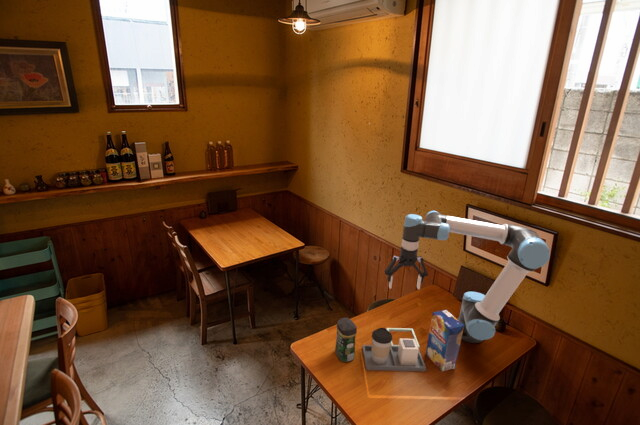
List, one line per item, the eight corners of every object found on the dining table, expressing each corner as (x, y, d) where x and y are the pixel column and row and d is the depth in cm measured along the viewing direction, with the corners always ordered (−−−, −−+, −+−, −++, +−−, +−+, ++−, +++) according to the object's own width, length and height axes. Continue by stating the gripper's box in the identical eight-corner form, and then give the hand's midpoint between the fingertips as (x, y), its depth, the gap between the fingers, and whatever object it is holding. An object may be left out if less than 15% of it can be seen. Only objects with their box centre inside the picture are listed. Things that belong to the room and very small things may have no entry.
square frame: (412, 330, 183) (412, 328, 183) (419, 349, 170) (419, 346, 170) (386, 330, 183) (386, 327, 182) (391, 348, 170) (391, 346, 170)
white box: (412, 354, 166) (414, 338, 162) (416, 365, 159) (418, 348, 156) (397, 354, 165) (399, 337, 162) (400, 365, 159) (403, 348, 156)
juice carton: (455, 369, 159) (464, 325, 151) (441, 373, 156) (450, 328, 148) (438, 351, 169) (446, 309, 161) (425, 355, 167) (432, 312, 159)
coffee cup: (389, 368, 157) (392, 340, 152) (368, 364, 158) (371, 337, 153) (389, 354, 165) (392, 327, 160) (370, 350, 167) (373, 324, 162)
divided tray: (416, 351, 169) (417, 346, 168) (425, 373, 156) (426, 367, 155) (362, 350, 168) (362, 344, 167) (366, 371, 156) (366, 366, 155)
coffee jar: (332, 350, 167) (334, 317, 161) (347, 346, 170) (349, 314, 164) (341, 364, 159) (344, 330, 153) (356, 360, 162) (360, 326, 156)
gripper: (433, 244, 165) (427, 284, 173) (381, 243, 165) (376, 282, 172) (439, 251, 158) (432, 292, 166) (384, 250, 158) (379, 291, 165)
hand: (404, 287), depth 169 cm, fingers open, 13 cm apart
